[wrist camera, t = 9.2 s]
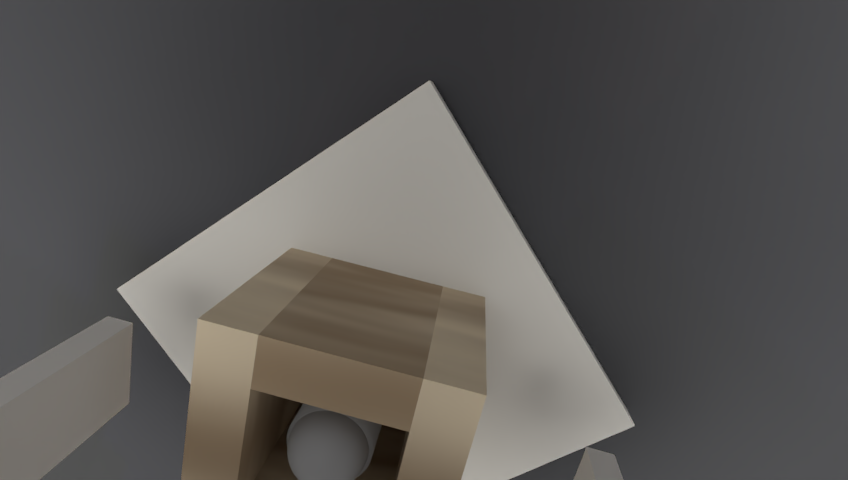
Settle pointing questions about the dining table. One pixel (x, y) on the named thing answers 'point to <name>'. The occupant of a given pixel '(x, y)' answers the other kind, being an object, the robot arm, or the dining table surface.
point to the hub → (414, 258)
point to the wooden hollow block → (336, 370)
